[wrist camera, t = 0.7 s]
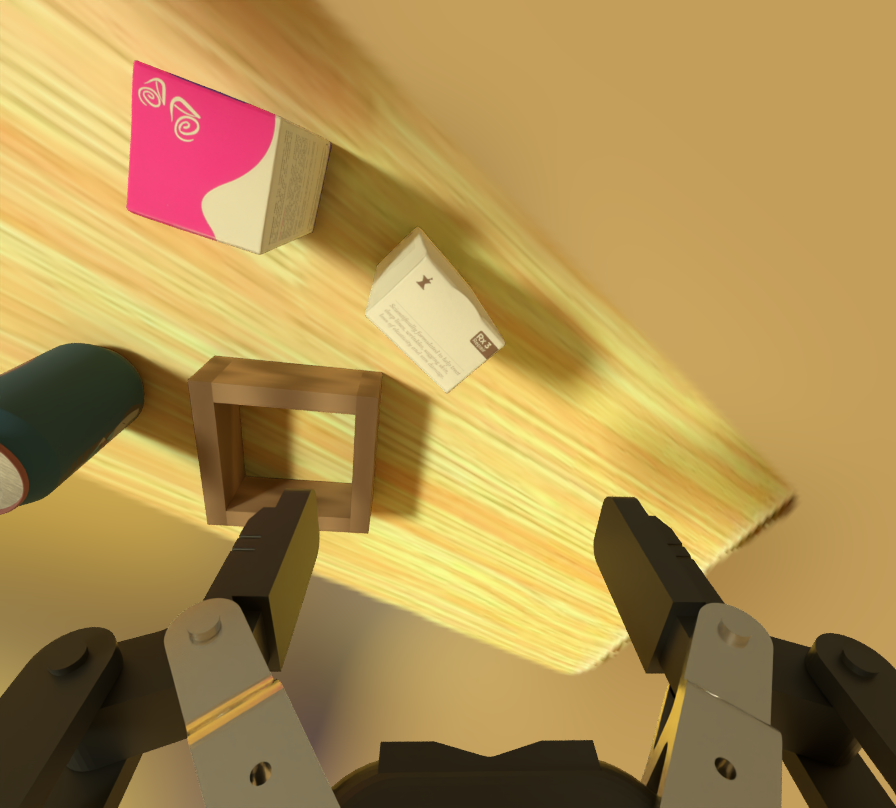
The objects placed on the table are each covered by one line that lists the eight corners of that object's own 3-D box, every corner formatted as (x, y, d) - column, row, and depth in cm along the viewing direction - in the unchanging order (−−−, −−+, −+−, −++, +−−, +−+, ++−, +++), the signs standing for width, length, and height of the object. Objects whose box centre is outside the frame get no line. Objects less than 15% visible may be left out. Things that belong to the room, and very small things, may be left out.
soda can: (46, 328, 32) (-139, 405, 21) (150, 347, 33) (25, 430, 22) (59, 411, 35) (-96, 516, 24) (155, 426, 36) (46, 532, 25)
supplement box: (333, 138, 28) (287, 118, 18) (314, 233, 30) (262, 264, 20) (237, 100, 27) (127, 55, 16) (224, 202, 29) (122, 219, 19)
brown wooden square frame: (228, 488, 39) (207, 524, 35) (214, 355, 34) (187, 380, 30) (372, 498, 41) (368, 533, 37) (382, 372, 35) (378, 397, 31)
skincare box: (374, 267, 31) (353, 316, 21) (420, 221, 30) (423, 248, 20) (433, 329, 34) (442, 401, 23) (478, 288, 33) (509, 345, 22)
